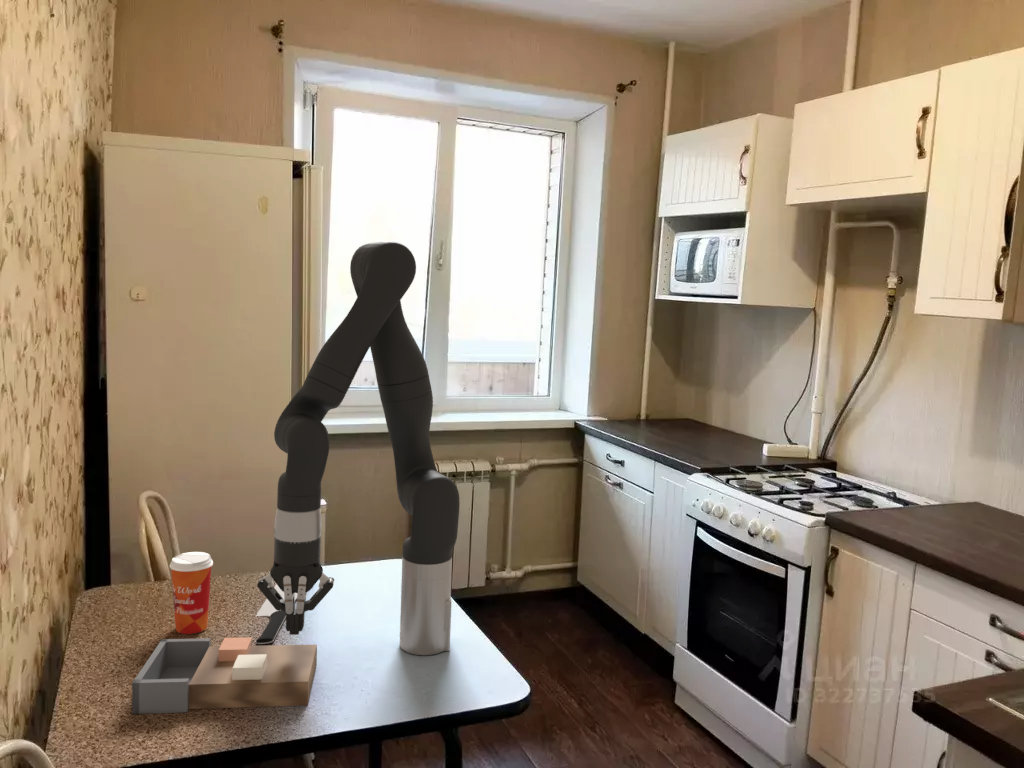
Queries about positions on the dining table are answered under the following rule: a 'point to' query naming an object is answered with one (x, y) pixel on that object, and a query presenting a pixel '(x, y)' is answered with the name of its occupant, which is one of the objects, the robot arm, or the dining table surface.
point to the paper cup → (191, 591)
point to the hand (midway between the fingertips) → (294, 632)
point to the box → (168, 676)
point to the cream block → (249, 667)
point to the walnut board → (278, 687)
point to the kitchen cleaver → (271, 620)
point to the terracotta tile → (234, 648)
